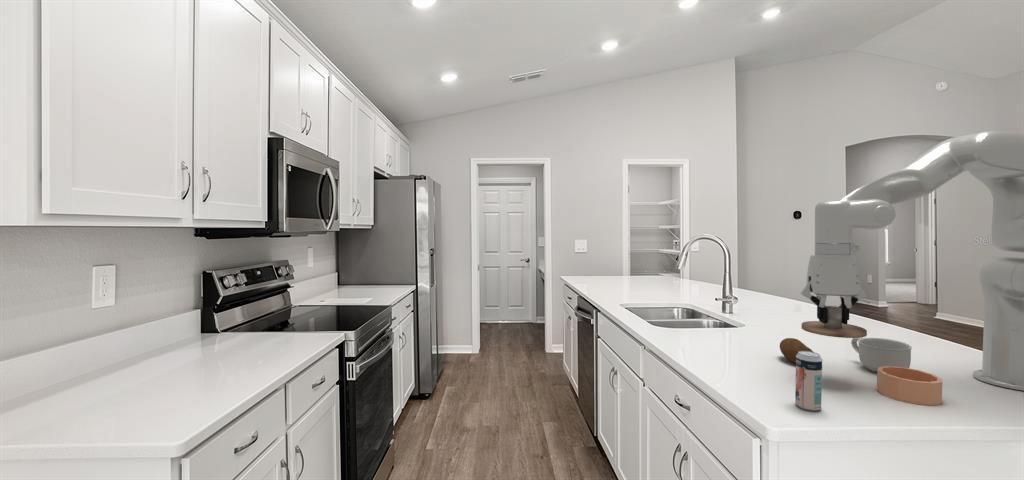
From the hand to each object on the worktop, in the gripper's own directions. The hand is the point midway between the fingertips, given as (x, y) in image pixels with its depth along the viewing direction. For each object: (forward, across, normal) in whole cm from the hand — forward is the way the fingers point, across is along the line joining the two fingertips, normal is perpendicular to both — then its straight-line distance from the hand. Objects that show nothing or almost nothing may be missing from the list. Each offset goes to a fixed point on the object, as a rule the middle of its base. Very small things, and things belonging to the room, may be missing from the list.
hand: (832, 321), depth 103 cm
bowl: (+16, -13, +4) cm, 21 cm away
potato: (+16, +4, -15) cm, 22 cm away
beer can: (+16, +12, +18) cm, 27 cm away
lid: (+2, 0, 0) cm, 2 cm away
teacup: (+16, -16, -15) cm, 27 cm away
